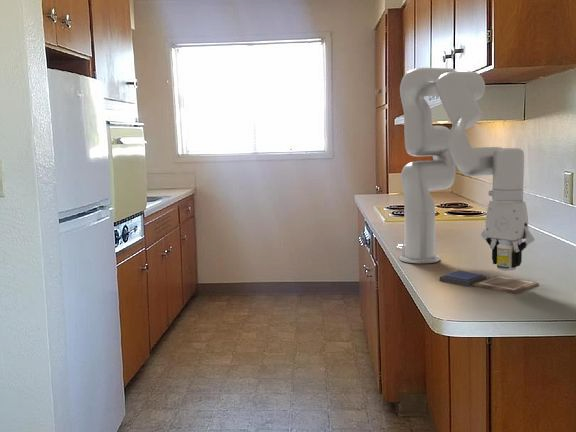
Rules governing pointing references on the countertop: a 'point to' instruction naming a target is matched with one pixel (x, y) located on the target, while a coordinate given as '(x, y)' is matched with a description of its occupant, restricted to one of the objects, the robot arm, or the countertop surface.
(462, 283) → the ink pad
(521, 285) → the marked board
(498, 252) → the supplement bottle
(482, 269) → the countertop surface
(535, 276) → the countertop surface
